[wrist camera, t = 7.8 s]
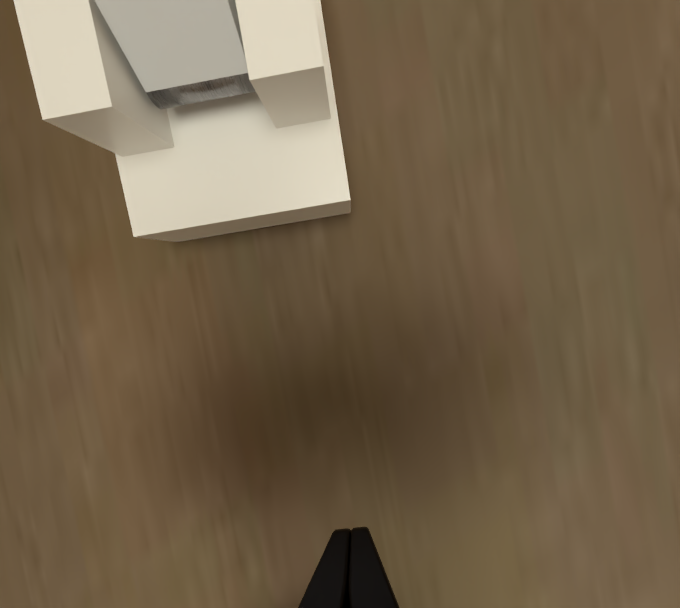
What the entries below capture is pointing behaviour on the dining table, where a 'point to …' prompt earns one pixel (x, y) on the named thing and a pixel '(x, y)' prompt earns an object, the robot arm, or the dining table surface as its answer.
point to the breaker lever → (181, 48)
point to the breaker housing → (200, 121)
